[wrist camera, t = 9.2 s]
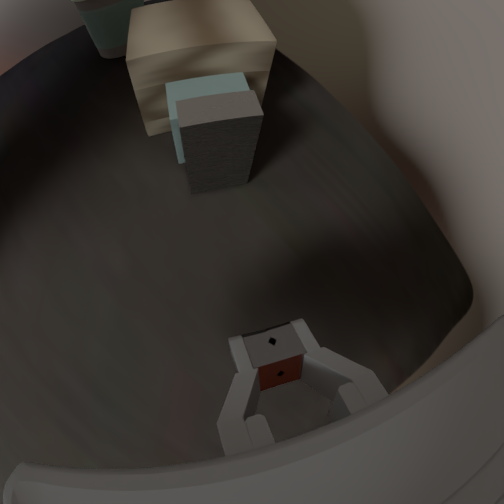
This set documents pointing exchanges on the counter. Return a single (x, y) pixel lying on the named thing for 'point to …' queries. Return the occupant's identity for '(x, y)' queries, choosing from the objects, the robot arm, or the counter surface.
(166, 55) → the block
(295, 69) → the counter surface
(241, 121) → the grey elongated piece
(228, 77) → the pale teal block
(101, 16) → the coffee cup
